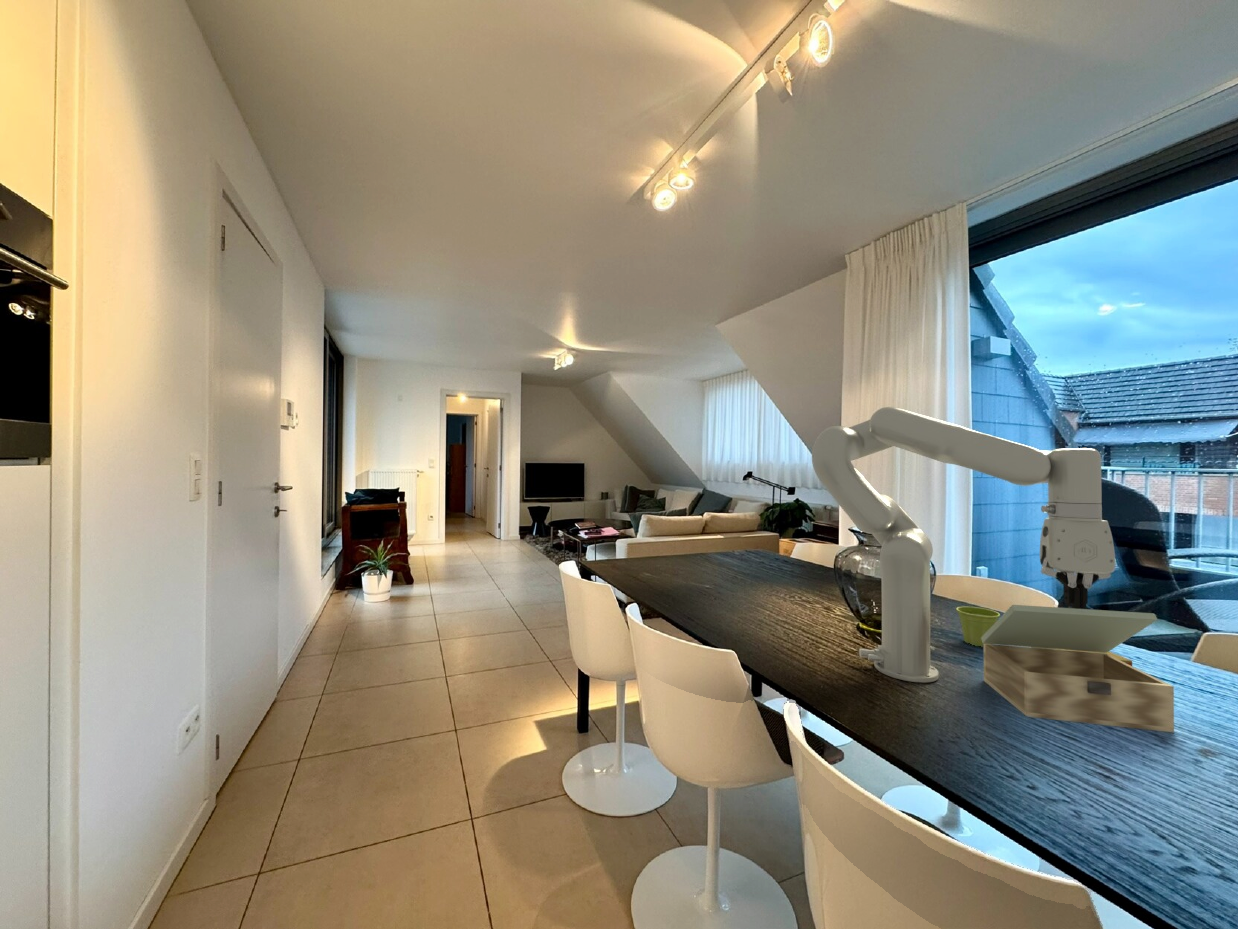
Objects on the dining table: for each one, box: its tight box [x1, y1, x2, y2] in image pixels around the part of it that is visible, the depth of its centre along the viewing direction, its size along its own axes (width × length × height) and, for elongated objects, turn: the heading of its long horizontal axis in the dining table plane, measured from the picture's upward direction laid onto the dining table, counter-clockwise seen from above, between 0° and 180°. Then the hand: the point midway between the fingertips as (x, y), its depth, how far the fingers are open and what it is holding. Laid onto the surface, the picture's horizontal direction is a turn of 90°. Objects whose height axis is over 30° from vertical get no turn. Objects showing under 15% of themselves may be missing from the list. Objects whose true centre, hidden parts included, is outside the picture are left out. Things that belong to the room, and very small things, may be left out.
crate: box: [983, 644, 1175, 733], centre depth 95 cm, size 22×16×8 cm
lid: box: [981, 604, 1158, 653], centre depth 97 cm, size 22×16×1 cm
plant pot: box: [955, 606, 1001, 648], centre depth 128 cm, size 9×9×9 cm
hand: (1075, 607), depth 93 cm, fingers closed
